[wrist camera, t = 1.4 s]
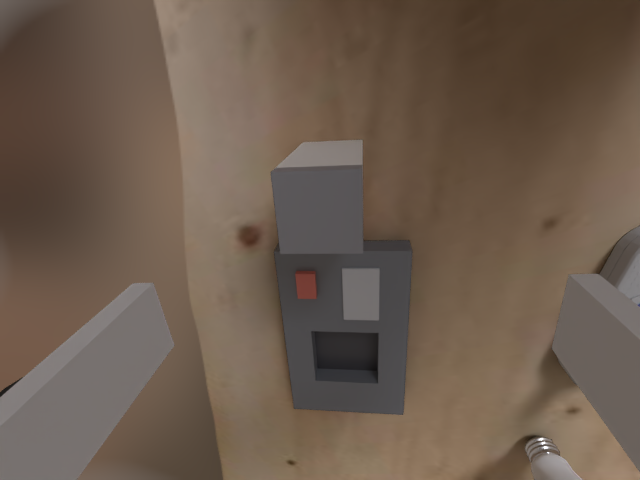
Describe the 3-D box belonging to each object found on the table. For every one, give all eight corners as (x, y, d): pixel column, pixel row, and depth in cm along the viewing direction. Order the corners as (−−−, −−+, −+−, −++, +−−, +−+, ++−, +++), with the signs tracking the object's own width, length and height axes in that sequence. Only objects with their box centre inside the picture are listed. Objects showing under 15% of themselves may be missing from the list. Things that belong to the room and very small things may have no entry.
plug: (303, 142, 26) (270, 172, 17) (362, 139, 25) (362, 169, 16) (307, 199, 28) (280, 253, 19) (363, 197, 27) (363, 253, 18)
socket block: (279, 241, 29) (272, 254, 27) (409, 240, 28) (413, 253, 26) (297, 392, 37) (293, 412, 34) (401, 397, 35) (403, 419, 33)
